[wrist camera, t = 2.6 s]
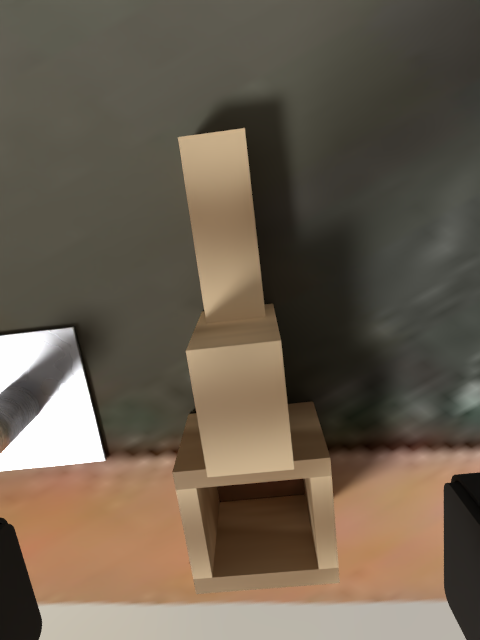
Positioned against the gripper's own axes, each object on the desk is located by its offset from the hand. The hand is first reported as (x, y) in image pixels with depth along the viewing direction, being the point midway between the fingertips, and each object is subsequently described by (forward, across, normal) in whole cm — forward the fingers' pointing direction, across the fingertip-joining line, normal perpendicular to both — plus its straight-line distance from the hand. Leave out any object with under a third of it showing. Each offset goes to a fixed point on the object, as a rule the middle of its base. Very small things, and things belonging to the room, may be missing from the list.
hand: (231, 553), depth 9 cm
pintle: (+11, +11, +1) cm, 15 cm away
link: (+11, 0, -1) cm, 11 cm away
